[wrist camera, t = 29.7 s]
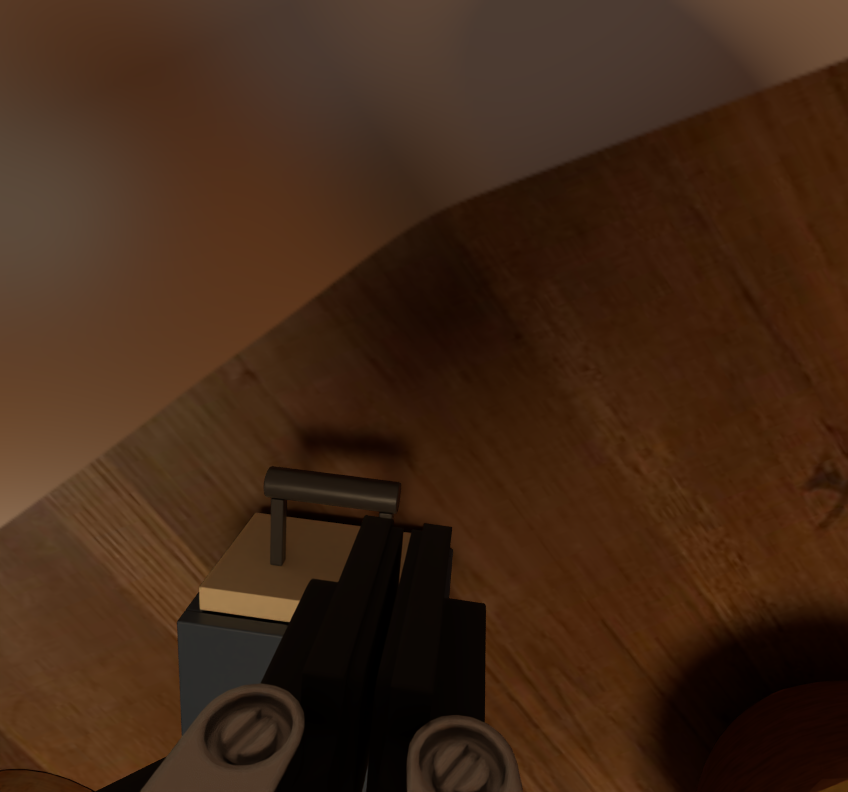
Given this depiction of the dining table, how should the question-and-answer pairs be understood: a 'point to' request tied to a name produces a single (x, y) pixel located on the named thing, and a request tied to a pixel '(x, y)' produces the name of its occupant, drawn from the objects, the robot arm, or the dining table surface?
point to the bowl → (785, 744)
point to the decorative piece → (36, 782)
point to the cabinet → (227, 654)
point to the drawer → (292, 544)
